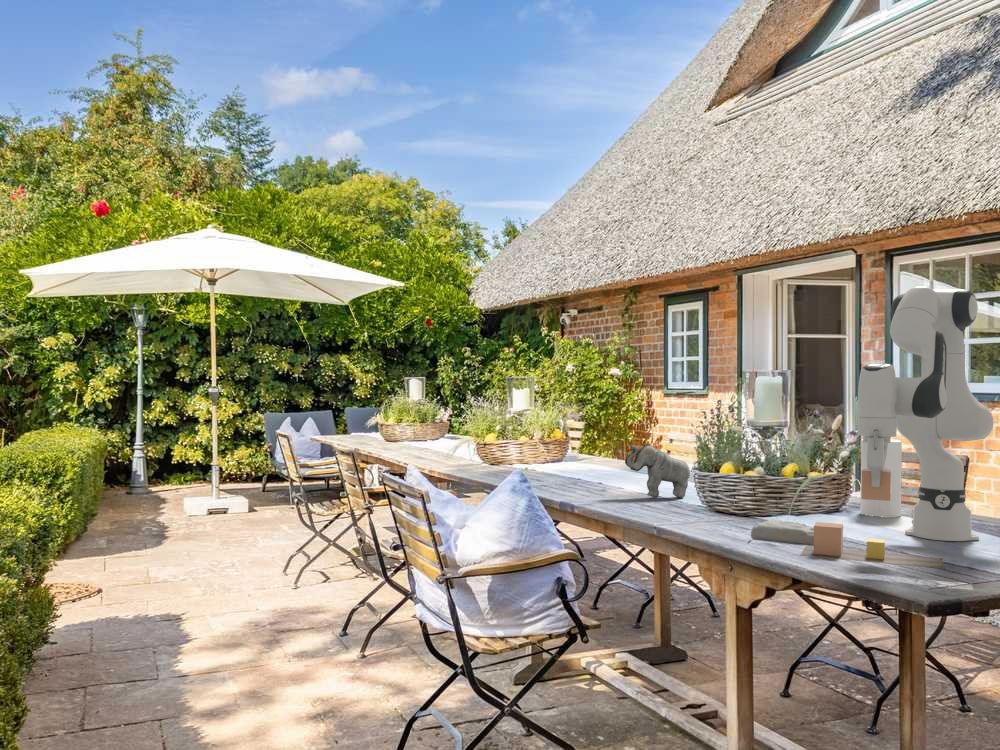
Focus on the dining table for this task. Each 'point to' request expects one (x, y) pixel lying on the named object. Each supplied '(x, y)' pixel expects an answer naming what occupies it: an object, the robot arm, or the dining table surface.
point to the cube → (875, 549)
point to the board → (888, 559)
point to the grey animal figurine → (660, 469)
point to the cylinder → (893, 464)
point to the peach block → (828, 538)
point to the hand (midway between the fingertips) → (876, 484)
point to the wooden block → (876, 492)
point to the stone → (783, 531)
